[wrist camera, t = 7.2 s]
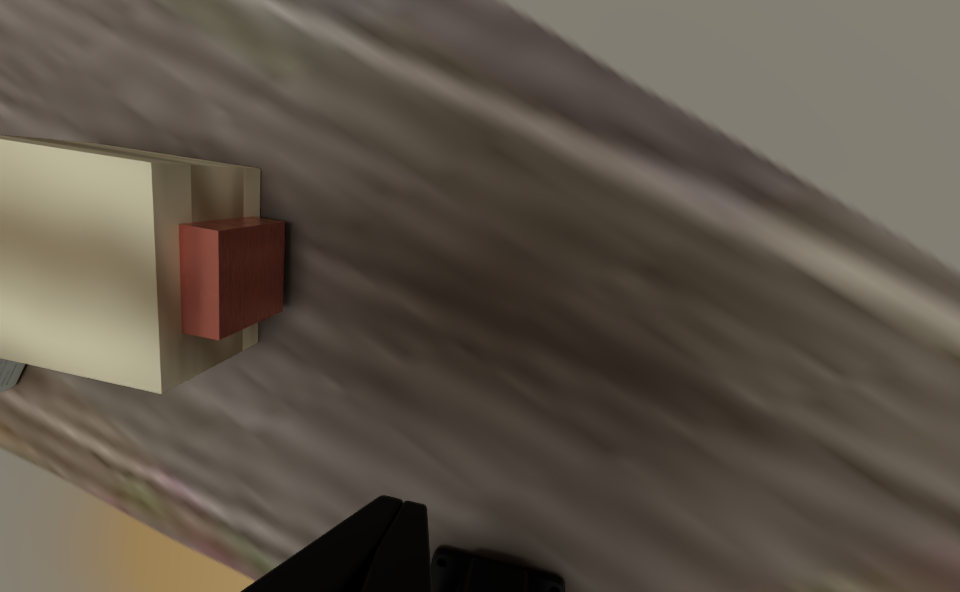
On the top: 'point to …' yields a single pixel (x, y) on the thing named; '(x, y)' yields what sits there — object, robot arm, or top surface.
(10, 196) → the block
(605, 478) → the top surface
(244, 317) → the pin
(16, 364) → the small box
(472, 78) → the top surface
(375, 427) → the top surface
